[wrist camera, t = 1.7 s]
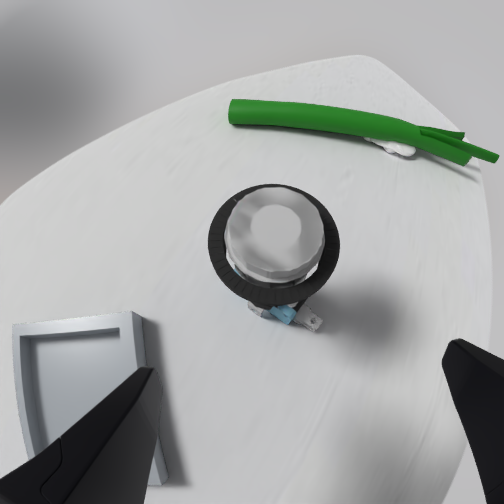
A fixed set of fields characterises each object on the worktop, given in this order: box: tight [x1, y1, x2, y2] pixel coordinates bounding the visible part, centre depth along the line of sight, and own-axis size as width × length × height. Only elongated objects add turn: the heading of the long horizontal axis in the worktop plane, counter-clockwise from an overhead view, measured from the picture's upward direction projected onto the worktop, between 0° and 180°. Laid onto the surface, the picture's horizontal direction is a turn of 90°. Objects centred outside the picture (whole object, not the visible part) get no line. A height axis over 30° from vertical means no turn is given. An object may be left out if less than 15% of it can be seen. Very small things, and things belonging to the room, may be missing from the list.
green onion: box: [228, 99, 499, 166], centre depth 25 cm, size 5×3×30 cm
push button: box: [208, 184, 340, 332], centre depth 15 cm, size 7×5×10 cm
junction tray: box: [12, 311, 169, 485], centre depth 16 cm, size 12×12×2 cm
